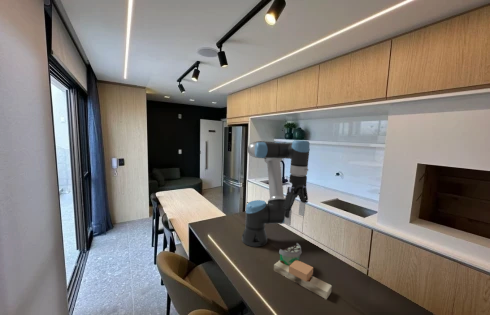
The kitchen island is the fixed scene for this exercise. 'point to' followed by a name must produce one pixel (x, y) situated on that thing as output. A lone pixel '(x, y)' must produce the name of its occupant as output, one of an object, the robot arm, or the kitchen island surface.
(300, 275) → the tan toy stool
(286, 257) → the grey green half-round piece
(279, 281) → the kitchen island surface
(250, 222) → the robot arm
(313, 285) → the rail
